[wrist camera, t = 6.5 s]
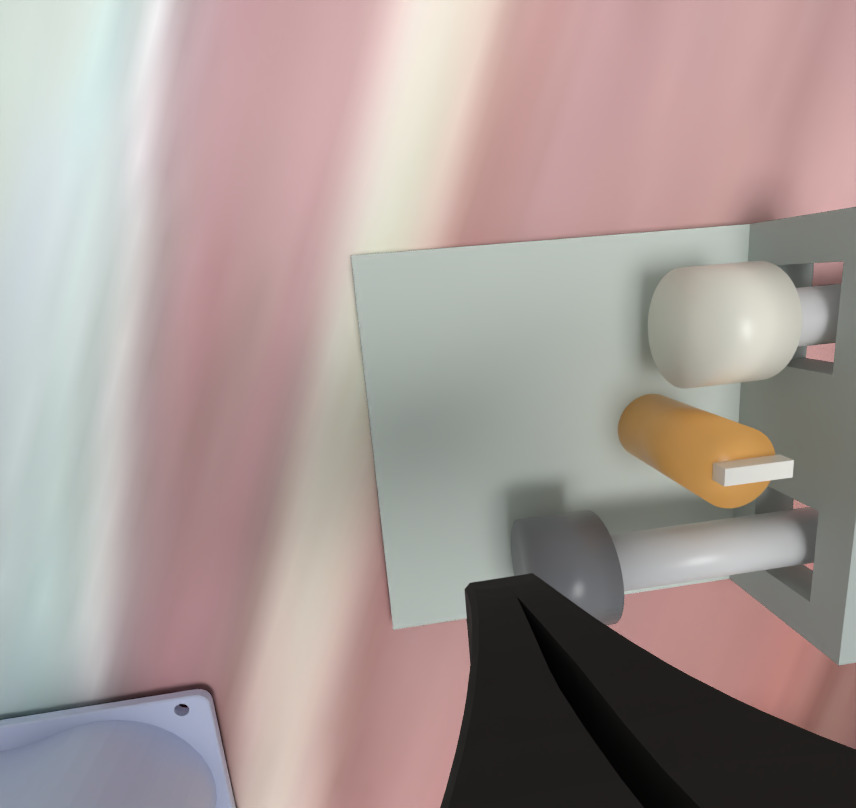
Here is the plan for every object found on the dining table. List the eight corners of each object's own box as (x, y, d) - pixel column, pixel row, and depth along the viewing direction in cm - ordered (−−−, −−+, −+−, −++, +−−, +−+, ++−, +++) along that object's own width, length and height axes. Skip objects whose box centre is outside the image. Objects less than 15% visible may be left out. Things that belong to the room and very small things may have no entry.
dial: (617, 461, 19) (705, 521, 14) (617, 397, 18) (709, 437, 14) (681, 453, 19) (789, 509, 14) (683, 390, 19) (796, 426, 14)
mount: (392, 619, 20) (403, 741, 15) (351, 256, 17) (345, 242, 11) (753, 565, 21) (882, 657, 16) (777, 222, 18) (946, 196, 13)
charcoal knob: (513, 593, 19) (547, 662, 15) (508, 501, 18) (543, 552, 15) (789, 552, 20) (879, 607, 17) (797, 464, 19) (893, 503, 16)
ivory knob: (646, 377, 18) (716, 399, 14) (648, 269, 17) (723, 264, 13) (933, 346, 19) (1063, 360, 15) (948, 243, 18) (1088, 232, 14)
